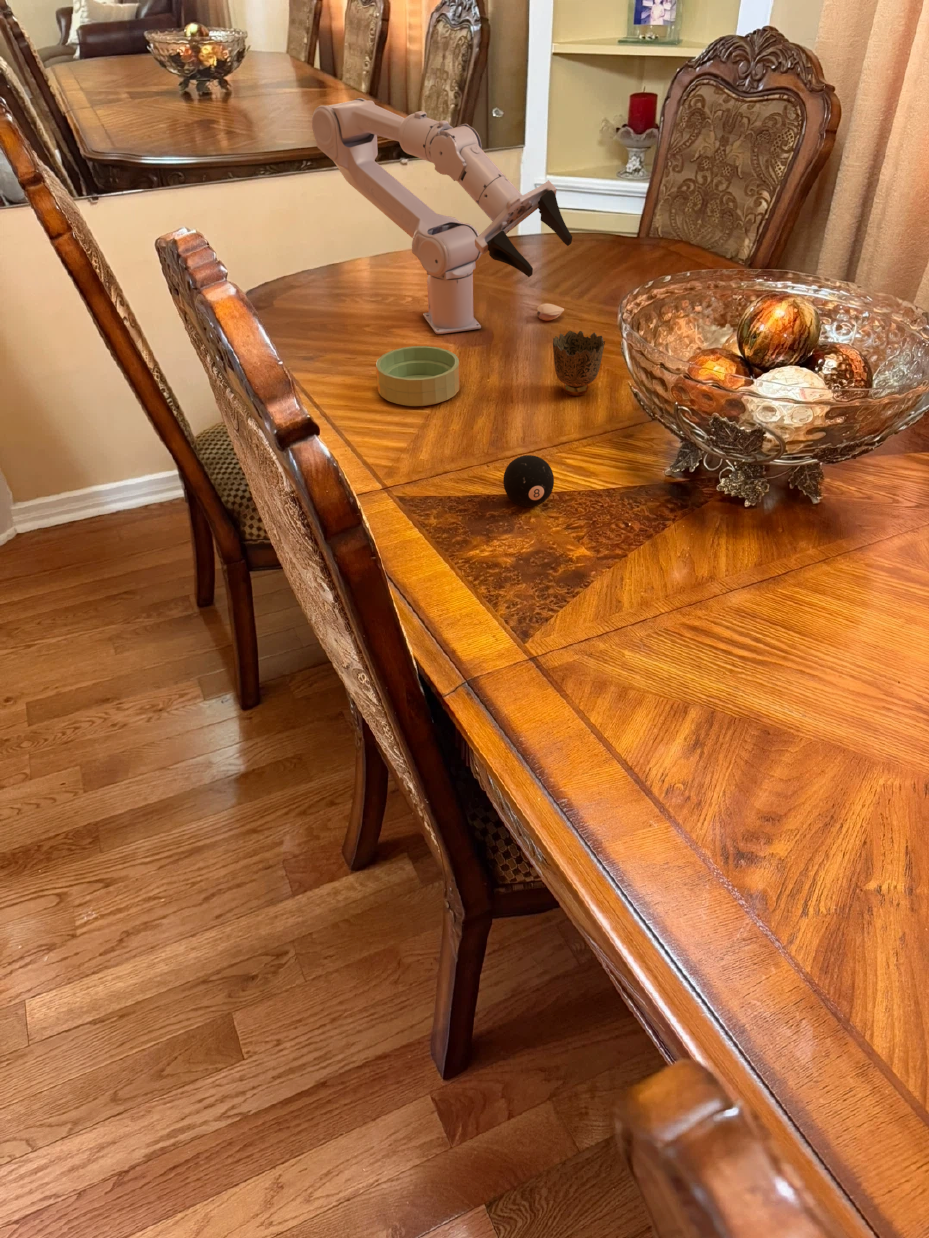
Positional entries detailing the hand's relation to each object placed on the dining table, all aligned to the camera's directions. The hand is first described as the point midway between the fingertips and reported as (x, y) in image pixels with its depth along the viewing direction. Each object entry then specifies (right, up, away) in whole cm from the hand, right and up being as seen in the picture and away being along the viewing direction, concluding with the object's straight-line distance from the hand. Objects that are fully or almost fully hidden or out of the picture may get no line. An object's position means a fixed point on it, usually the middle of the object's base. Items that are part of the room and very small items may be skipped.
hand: (550, 257), depth 134 cm
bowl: (-20, -20, 0) cm, 28 cm away
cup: (+4, -21, -1) cm, 21 cm away
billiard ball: (-5, -40, -25) cm, 48 cm away
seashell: (+2, -2, +22) cm, 22 cm away
